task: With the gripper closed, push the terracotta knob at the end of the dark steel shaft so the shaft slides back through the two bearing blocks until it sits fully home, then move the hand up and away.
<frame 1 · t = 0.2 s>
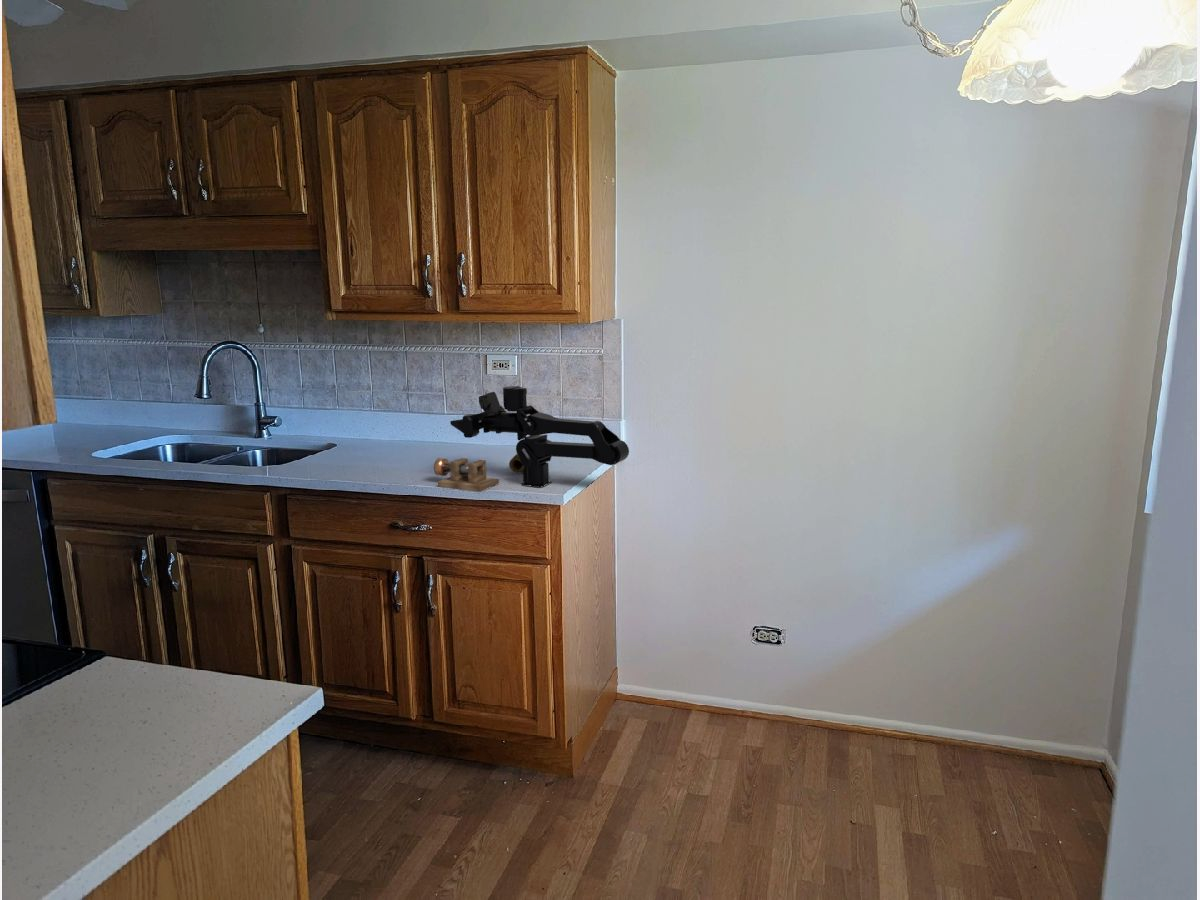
hand: (459, 419, 251), 17 cm above the table, tool horizontal, fingers open, 9 cm apart
shaft: (457, 468, 244), point 4 cm above the table, slide at 3.5 cm
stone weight: (527, 470, 263), on the table
bearing stand: (468, 485, 243), on the table
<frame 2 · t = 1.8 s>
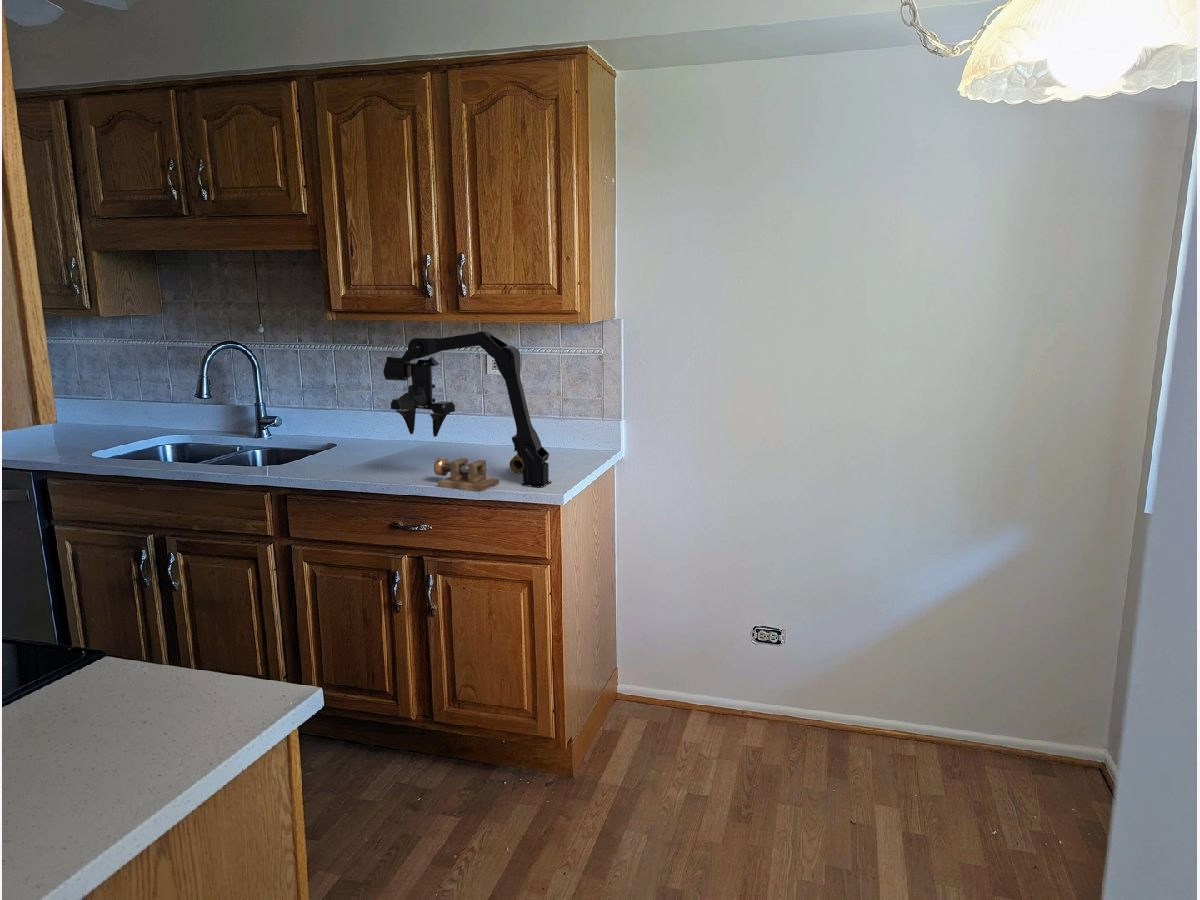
hand: (423, 435, 247), 13 cm above the table, tool pointing down, fingers open, 8 cm apart
nothing on the table moved.
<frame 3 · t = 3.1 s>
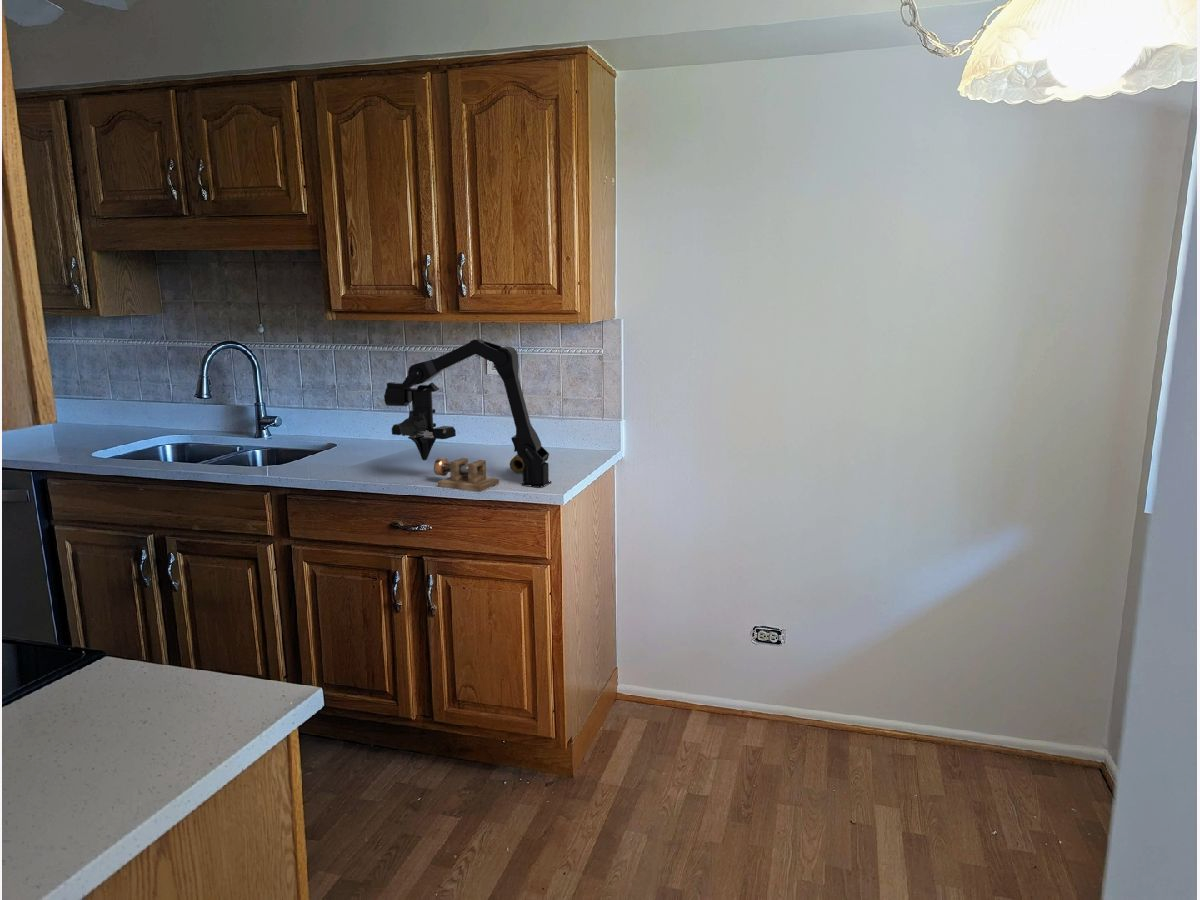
hand: (424, 460, 248), 6 cm above the table, tool pointing down, fingers closed
nothing on the table moved.
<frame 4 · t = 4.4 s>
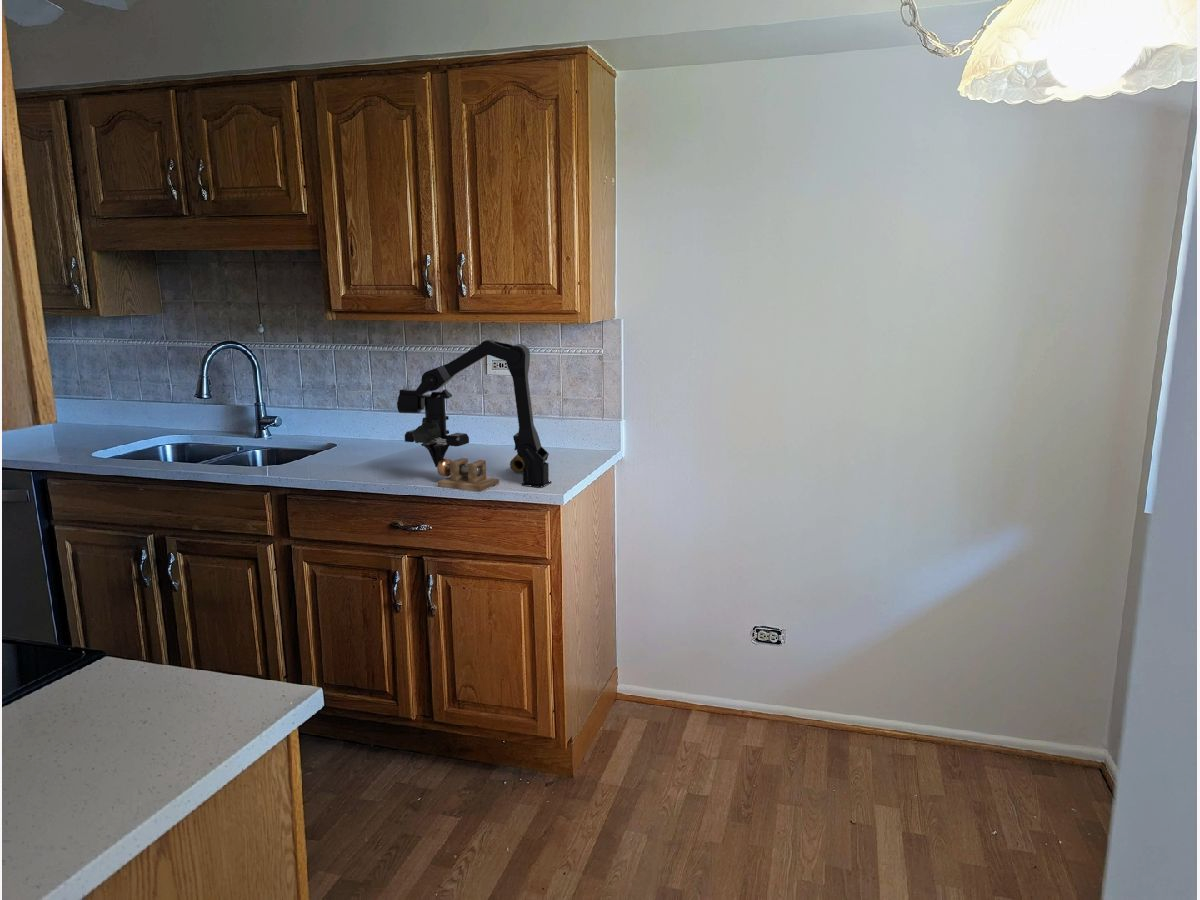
hand: (437, 467, 247), 4 cm above the table, tool pointing down, fingers closed
shaft: (460, 469, 243), point 4 cm above the table, slide at 2.3 cm, touching gripper
everything else where it was.
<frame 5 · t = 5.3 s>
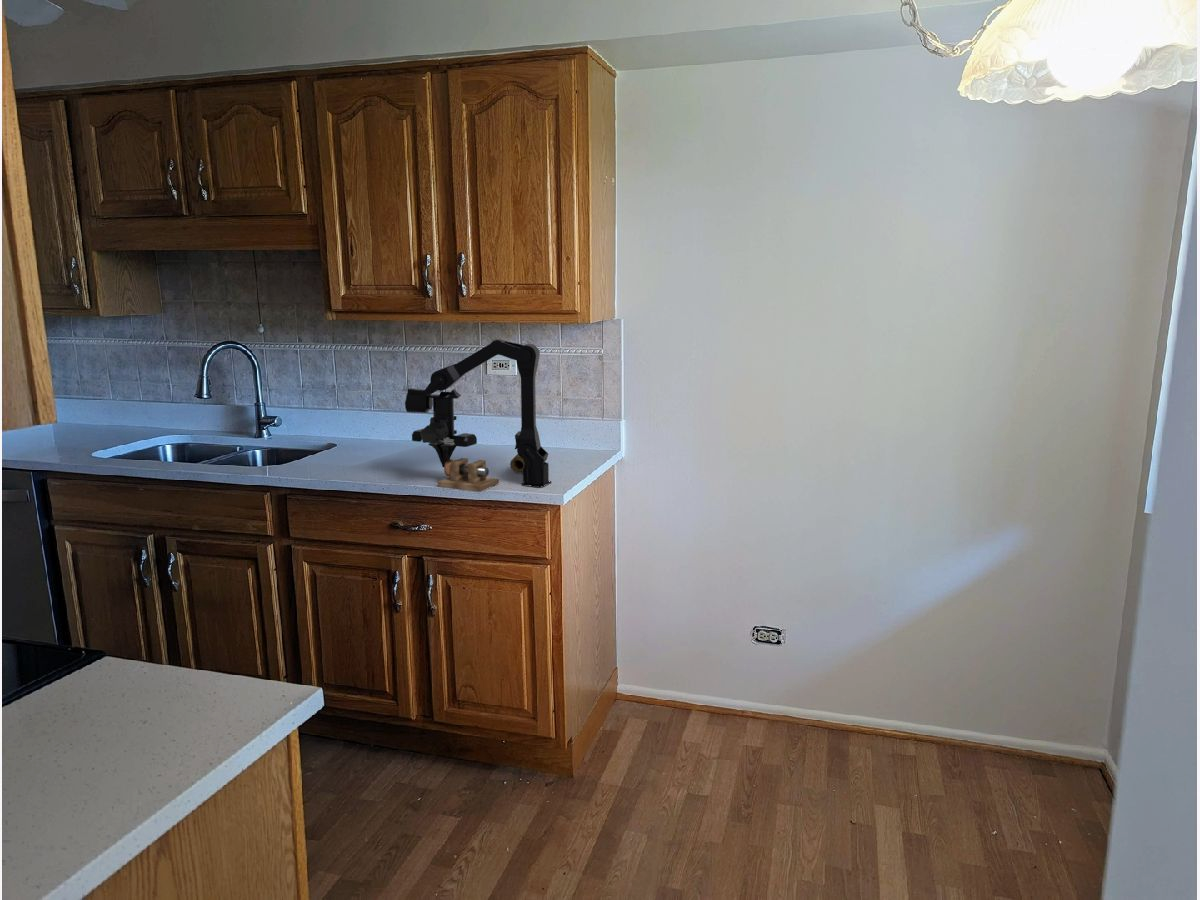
hand: (444, 467, 245), 5 cm above the table, tool pointing down, fingers closed
shaft: (467, 469, 242), point 5 cm above the table, slide at -0.1 cm, touching gripper
everything else where it was.
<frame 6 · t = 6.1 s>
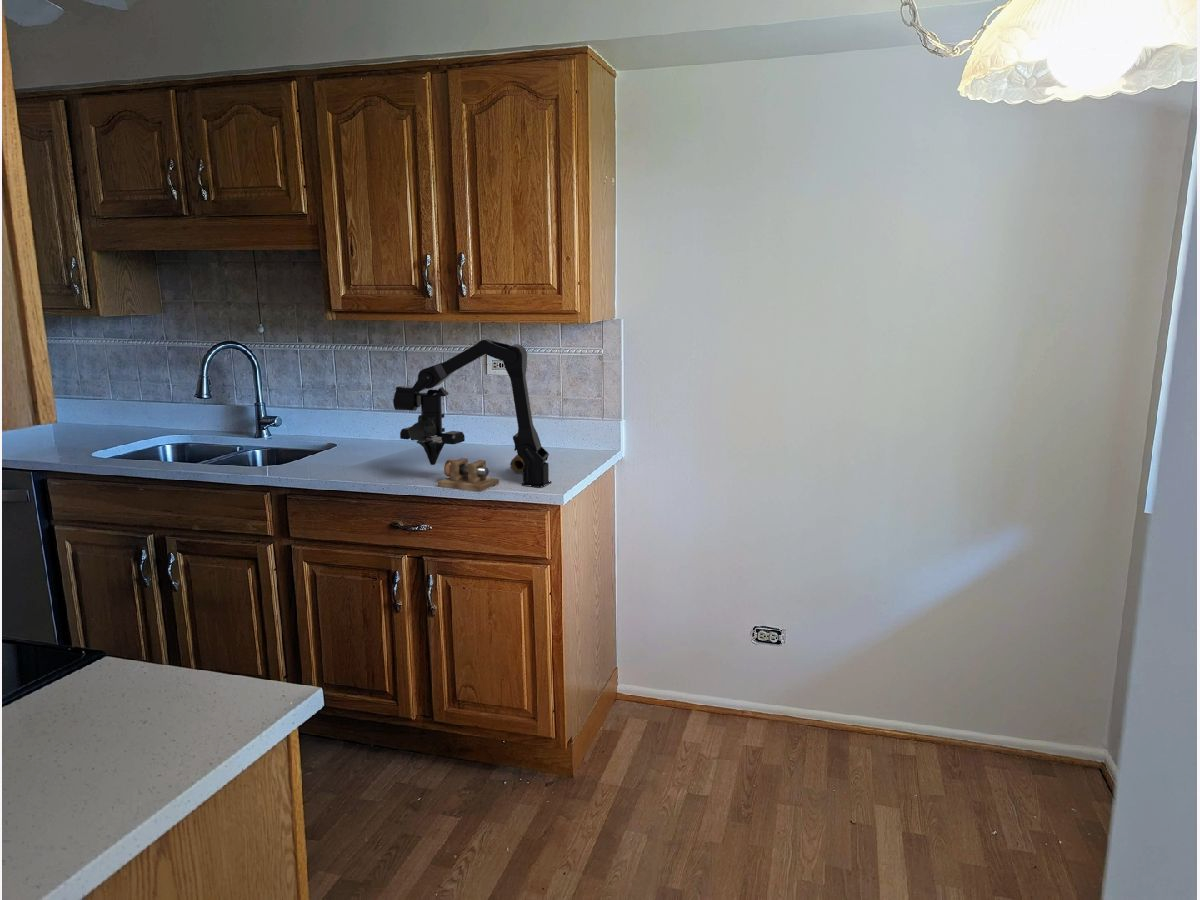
hand: (432, 464, 247), 5 cm above the table, tool pointing down, fingers closed
shaft: (467, 469, 242), point 4 cm above the table, slide at 0.0 cm
everything else where it was.
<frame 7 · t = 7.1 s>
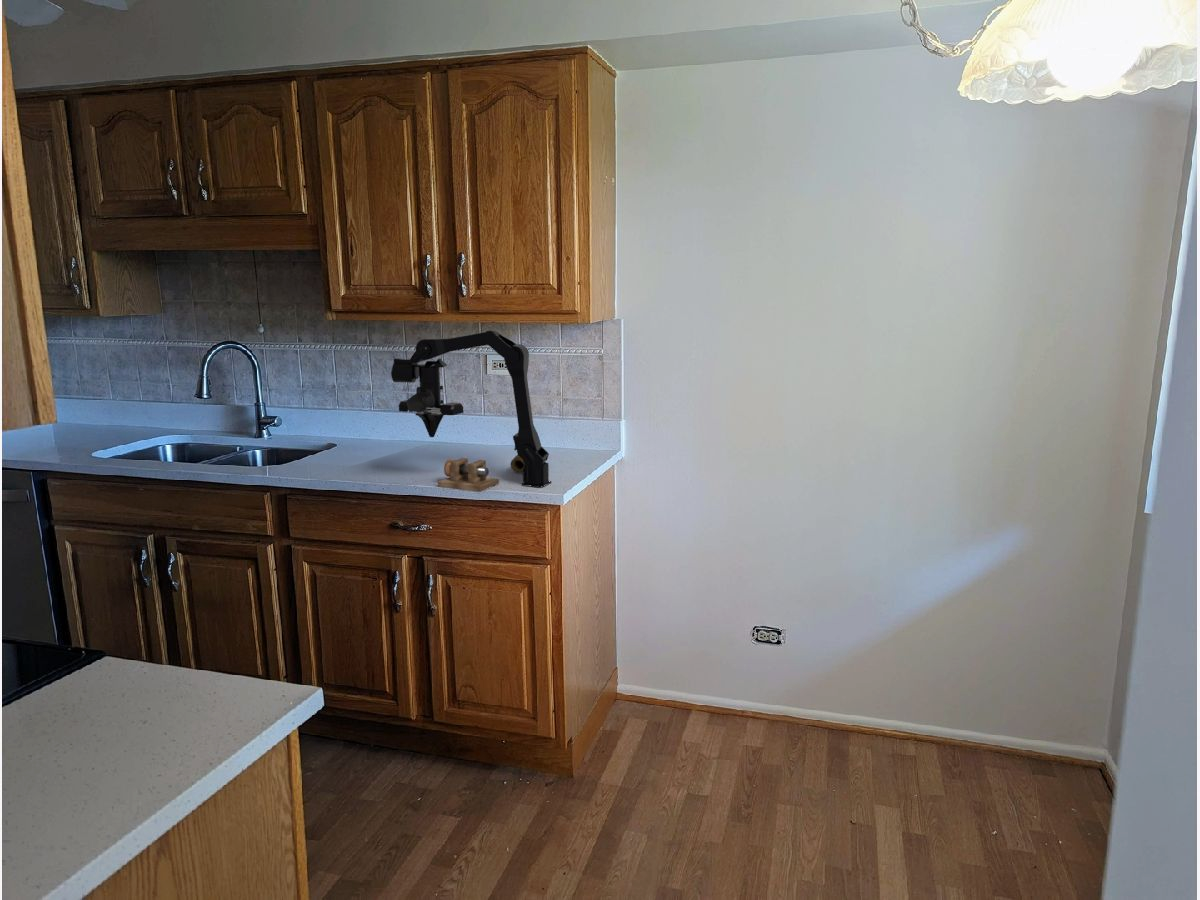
hand: (431, 437, 245), 13 cm above the table, tool pointing down, fingers closed
nothing on the table moved.
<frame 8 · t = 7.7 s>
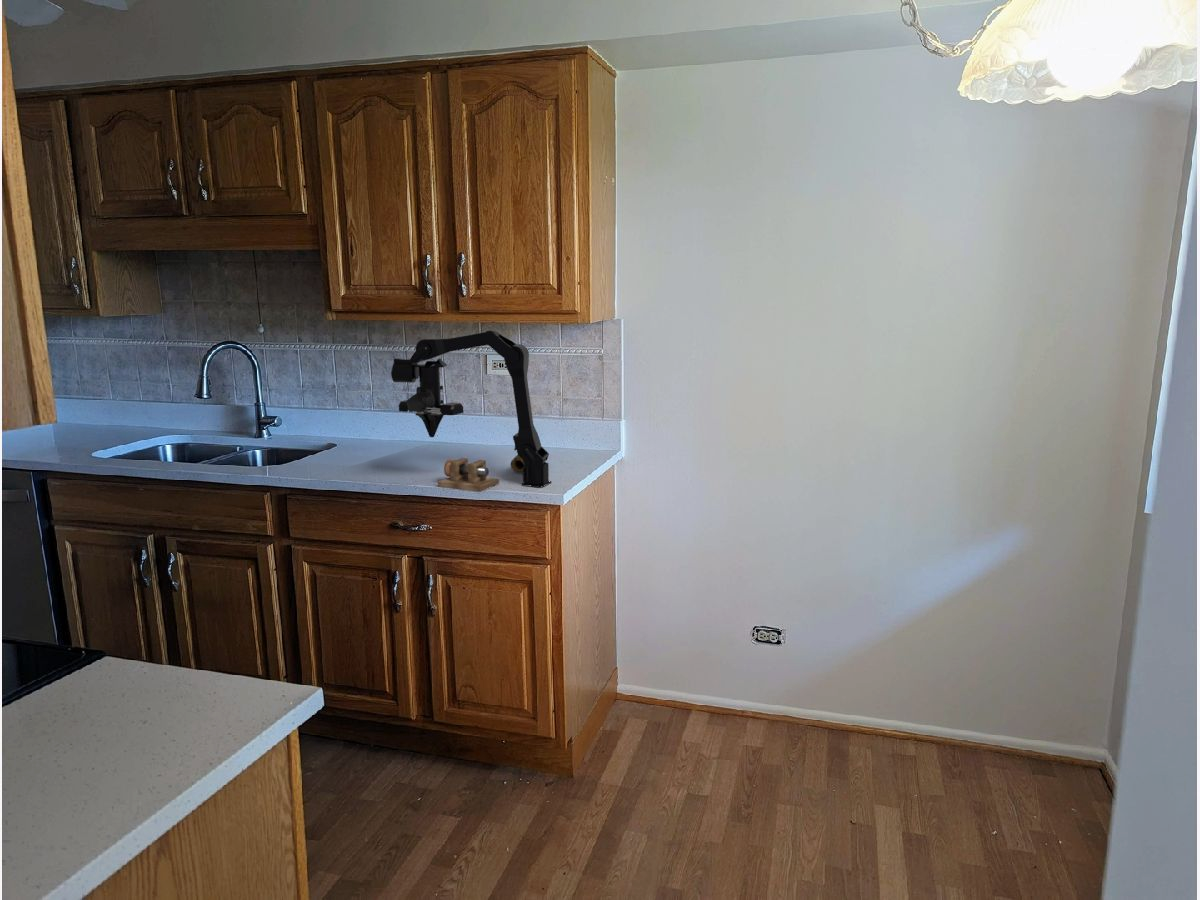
hand: (431, 437, 245), 13 cm above the table, tool pointing down, fingers closed
nothing on the table moved.
at the end: shaft slide at 0.0 cm; the gripper is holding nothing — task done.
